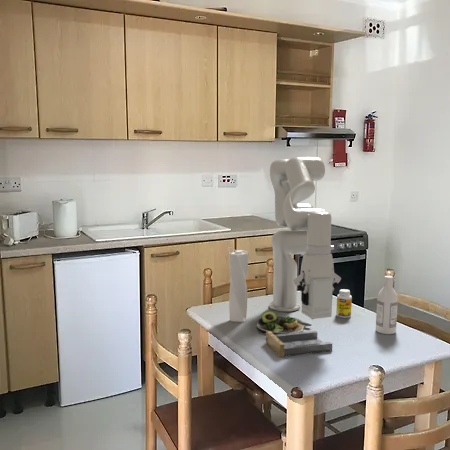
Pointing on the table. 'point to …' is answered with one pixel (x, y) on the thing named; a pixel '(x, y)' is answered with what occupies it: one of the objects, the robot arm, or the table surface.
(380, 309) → the bath foam
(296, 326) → the salad plate
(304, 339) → the channel bracket
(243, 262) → the skyscraper
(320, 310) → the supplement box
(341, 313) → the supplement bottle
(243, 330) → the table surface
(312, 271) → the robot arm
